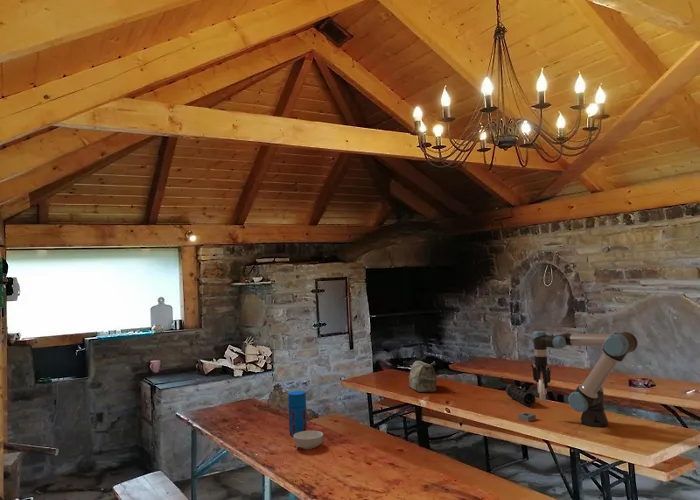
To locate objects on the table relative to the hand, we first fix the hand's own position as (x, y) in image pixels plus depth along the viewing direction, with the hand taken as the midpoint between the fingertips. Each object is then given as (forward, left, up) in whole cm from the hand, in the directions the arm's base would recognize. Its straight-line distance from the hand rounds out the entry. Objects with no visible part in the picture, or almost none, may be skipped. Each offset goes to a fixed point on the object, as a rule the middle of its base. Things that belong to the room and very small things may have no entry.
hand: (542, 392), depth 325 cm
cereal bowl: (+51, +141, -17) cm, 151 cm away
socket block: (+7, +7, -17) cm, 20 cm away
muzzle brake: (+36, -22, -17) cm, 45 cm away
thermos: (+76, +135, -17) cm, 156 cm away
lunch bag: (+112, +3, -17) cm, 113 cm away
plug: (0, 0, -5) cm, 5 cm away
